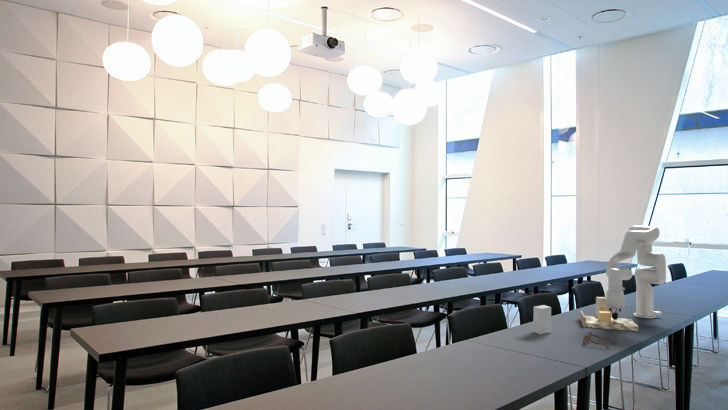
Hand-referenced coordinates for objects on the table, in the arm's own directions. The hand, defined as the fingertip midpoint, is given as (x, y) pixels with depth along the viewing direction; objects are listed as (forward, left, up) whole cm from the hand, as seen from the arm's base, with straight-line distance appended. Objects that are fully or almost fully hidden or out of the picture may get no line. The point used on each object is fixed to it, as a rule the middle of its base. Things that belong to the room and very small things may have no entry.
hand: (614, 319), depth 292 cm
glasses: (+15, +46, -4) cm, 49 cm away
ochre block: (+6, 0, -1) cm, 6 cm away
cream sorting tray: (+3, 0, -4) cm, 5 cm away
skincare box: (+42, +32, -4) cm, 53 cm away
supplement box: (+3, -20, -4) cm, 21 cm away
